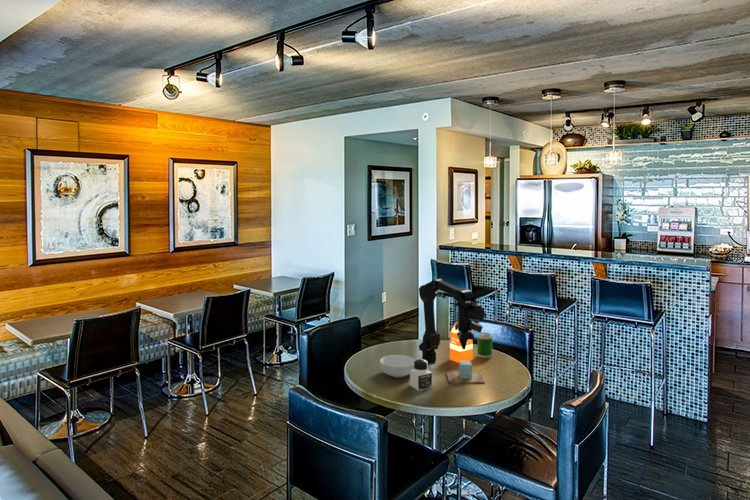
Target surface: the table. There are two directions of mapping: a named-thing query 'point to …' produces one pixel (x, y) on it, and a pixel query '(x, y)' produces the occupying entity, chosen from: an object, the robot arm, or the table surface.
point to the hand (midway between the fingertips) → (463, 349)
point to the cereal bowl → (397, 365)
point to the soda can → (484, 345)
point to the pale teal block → (465, 370)
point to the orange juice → (459, 348)
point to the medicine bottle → (420, 375)
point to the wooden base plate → (455, 378)
